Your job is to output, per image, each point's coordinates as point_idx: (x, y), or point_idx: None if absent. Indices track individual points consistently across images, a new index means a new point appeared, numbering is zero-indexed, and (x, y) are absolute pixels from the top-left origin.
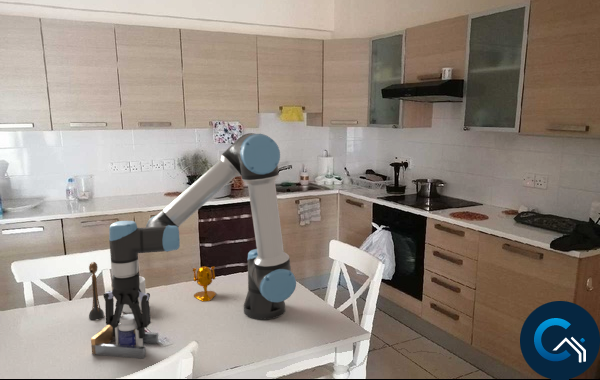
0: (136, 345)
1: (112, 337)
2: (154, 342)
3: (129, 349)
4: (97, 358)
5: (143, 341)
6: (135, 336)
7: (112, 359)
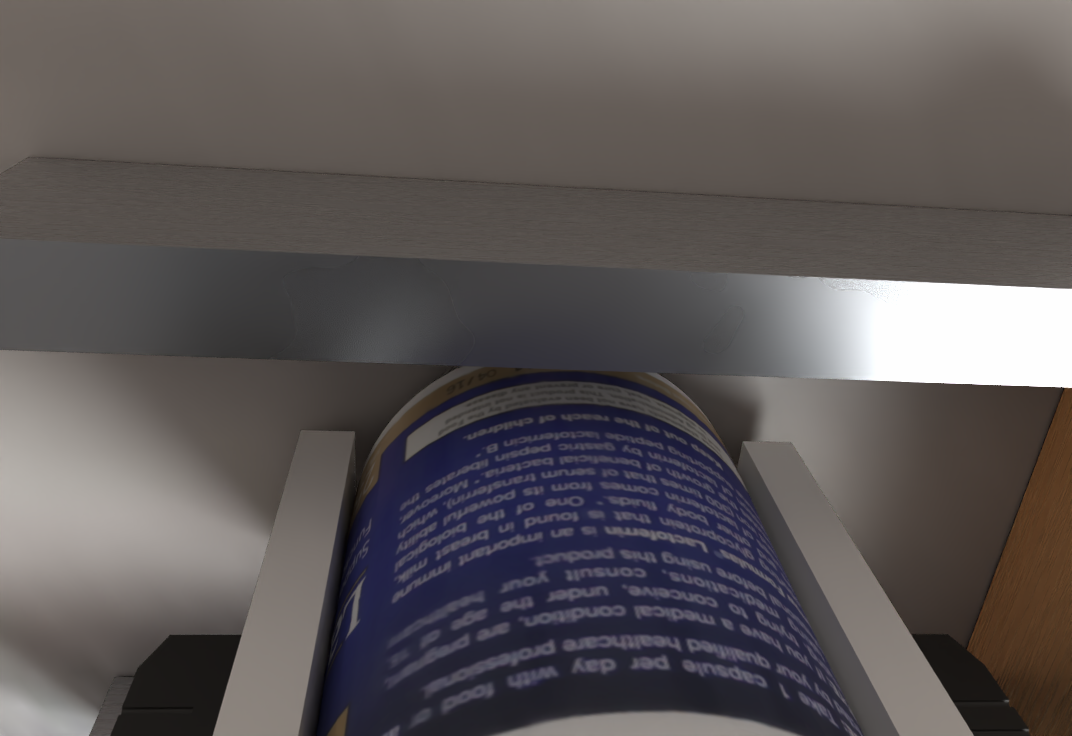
0: (335, 488)
1: None
2: None
3: (345, 238)
4: (1061, 84)
5: None
6: (337, 657)
7: (722, 68)
